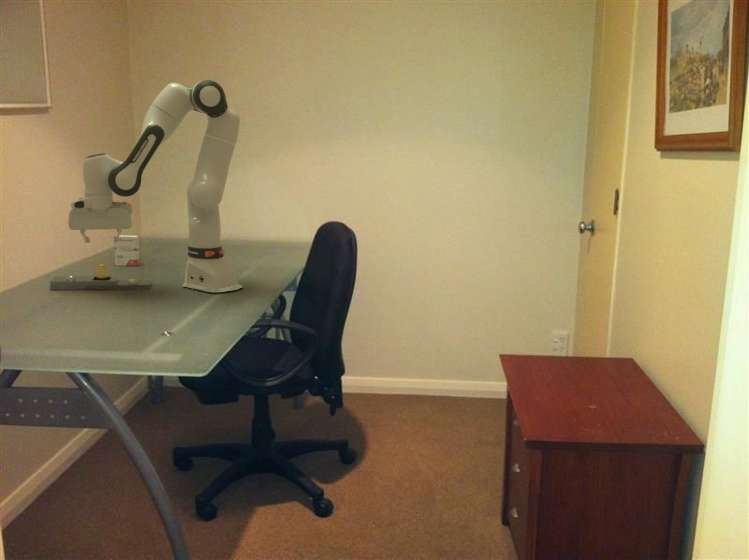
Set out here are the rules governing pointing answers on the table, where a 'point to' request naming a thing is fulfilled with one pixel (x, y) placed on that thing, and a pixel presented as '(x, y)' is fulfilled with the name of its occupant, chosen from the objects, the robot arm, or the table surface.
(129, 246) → the ink box
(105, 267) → the brass pin
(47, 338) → the table surface
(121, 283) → the latch strike plate
